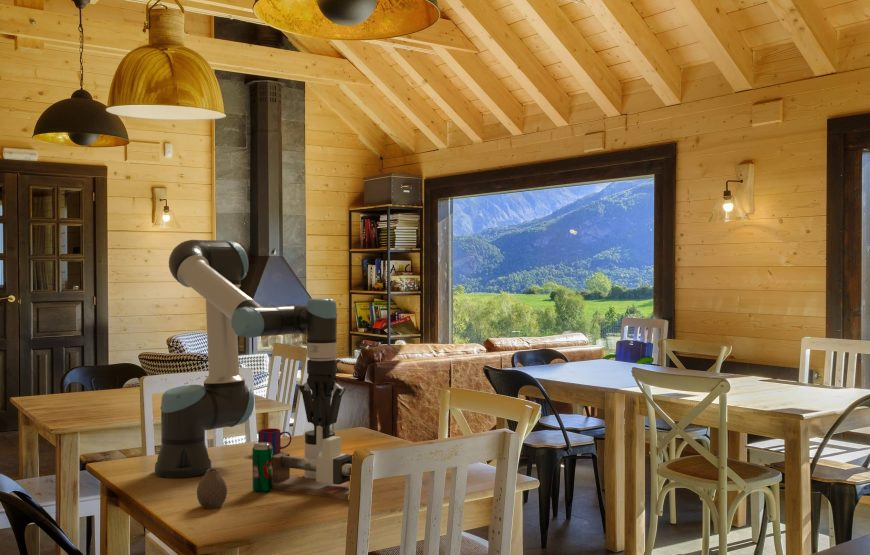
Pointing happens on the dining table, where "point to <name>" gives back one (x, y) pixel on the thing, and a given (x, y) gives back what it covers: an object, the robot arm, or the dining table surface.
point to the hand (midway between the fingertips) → (321, 450)
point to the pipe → (308, 464)
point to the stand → (305, 482)
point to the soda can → (262, 467)
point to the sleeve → (328, 459)
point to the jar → (312, 450)
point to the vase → (211, 490)
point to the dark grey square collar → (340, 469)
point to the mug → (272, 438)
